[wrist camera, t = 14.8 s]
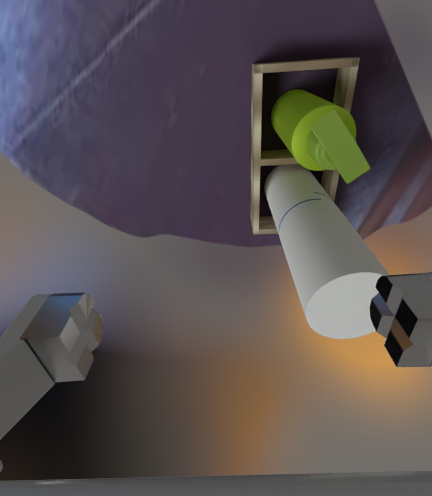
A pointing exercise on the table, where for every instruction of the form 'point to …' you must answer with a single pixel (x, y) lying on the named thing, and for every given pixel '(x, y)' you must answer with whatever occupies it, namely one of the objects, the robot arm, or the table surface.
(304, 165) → the soap dispenser
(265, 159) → the frame
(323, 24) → the table surface
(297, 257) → the cylindrical container
